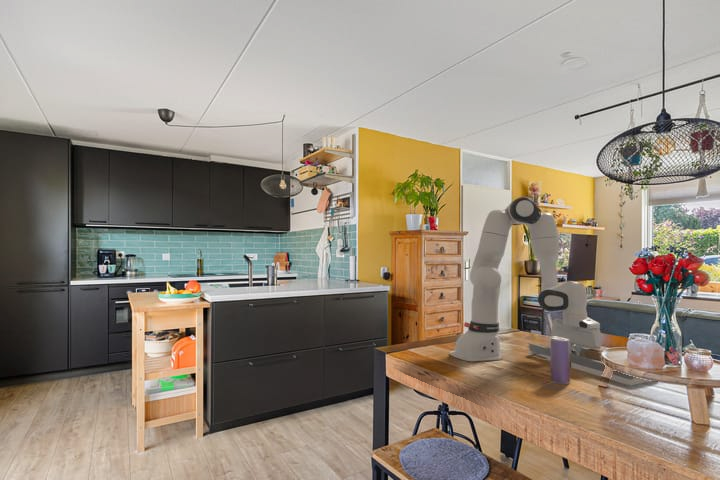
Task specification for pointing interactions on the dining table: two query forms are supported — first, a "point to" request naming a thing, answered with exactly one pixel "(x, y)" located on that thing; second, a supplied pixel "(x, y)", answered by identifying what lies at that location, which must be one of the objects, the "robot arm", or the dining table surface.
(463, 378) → the dining table surface
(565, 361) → the beverage can
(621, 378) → the trap track
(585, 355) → the walnut block
